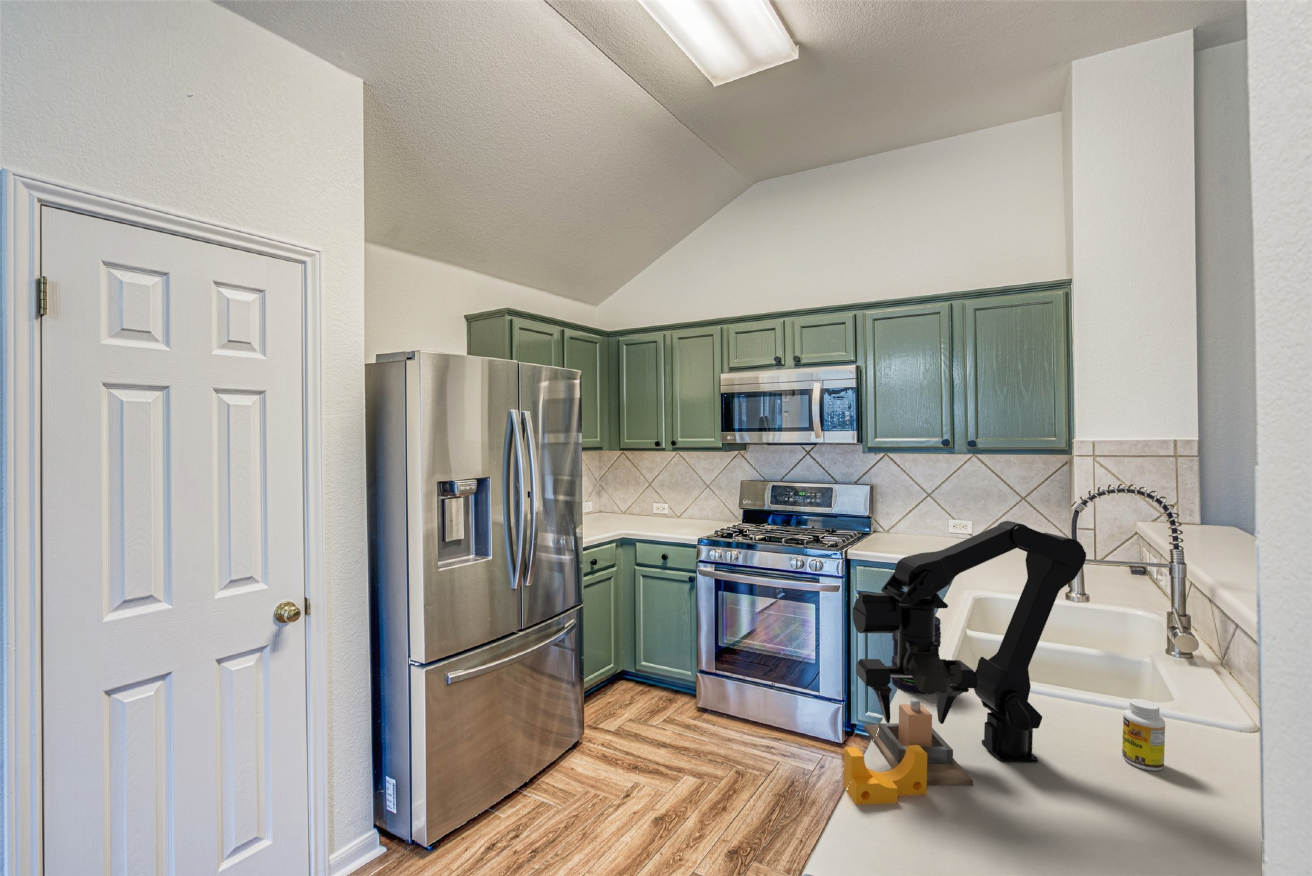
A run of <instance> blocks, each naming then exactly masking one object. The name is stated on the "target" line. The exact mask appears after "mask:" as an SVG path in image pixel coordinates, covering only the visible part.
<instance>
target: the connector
mask: <svg viewBox="0 0 1312 876" xmlns="http://www.w3.org/2000/svg"><path fill="white" fill-rule="evenodd" d="M931 713H932V712H929V710H928V709H927V708H926V707H925V706H924V705H923V704H921V699H918V698H914V697H913V698H910V703H909V704H900V703H899V704H898V724H899V730H898V741H899V743H900V744H901V745H902V746H908V745H919V746H920V747H932V728H933V714H931Z"/></svg>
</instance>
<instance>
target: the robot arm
mask: <svg viewBox="0 0 1312 876" xmlns="http://www.w3.org/2000/svg"><path fill="white" fill-rule="evenodd" d="M1016 549H1019V550H1021V551H1024V552H1026V556H1025V567H1026V573H1027V574H1026V575H1027V579H1026V582H1025V584H1024V586H1023V589H1022V592H1021V594H1020V597H1019V599H1018V601H1017V605H1016V607H1015V609H1014V611H1013V614H1012V616H1011V619H1010V621H1009V624H1008V625H1007V628H1006V631H1005V633H1004V636H1003V638H1002V641H1001V643H1000V645H999V648H998V650H997V652H996V653H995V654H994V655H993V656H991V657H990V658H988V659H987V658H986V657H984V656H980V657H979V659H978V662H977V666H976V669H975V670H973V669H972V668H971V667H969V665H967V664H965V663H964V662H963V661H962V660H961V659H959V660H957V659H946V658H941V657H940V652H939V653H938V644H937V643H935V642H934V626H935V616H936V611H935V610H936V609H948V608H949V605H948V603H946V602H945V600H943V599H942V597H940V595H939V592H941V591H942V590H943V589H945V588H946V587H948V586H950V584H951V583H952V581H953V580H954V578H955V577H957V576H959V575H960V574H962V573H964V572H966V571H968V570H970V569H973V568H976V567H977V566H981V564H983V563H984V564H985V563H986V562H989V561H990V560H993V559H995V558H998V557H999V556H1002V555H1004V554H1006V553H1009V552H1011V551H1013V550H1016ZM1086 559H1087V552H1086V551H1085V549H1084V546H1083V545H1082V544H1081V542H1080V541H1078V540H1077V539H1075V538H1071V537H1065V536H1062V535H1057V534H1054V533H1050V532H1041V531H1039V530H1036V529H1033V528H1031V527H1029V526H1028V525H1025V524H1023V523H1020V522H1016V521H1012V520H1005V521H1001V522H1000V523H998V524H997V525H995V526H994V527H990V528H989V529H987V530H985V531H982V532H980V533H977V534H975V535H973V536H971V537H968V538H966V539H964V540H962V541H960V542H957V543H955V544H953V545H951V546H949V547H945V548H944V549H940V550H937V551H928V552H919V553H916V554H912V555H908V556H904V557H902V558H901V559H899V560H897V562H896V565H895V569H894V572H893V574H892V575H891V576H890V577H889V579H888V580H887V581H886V582H885V584H884V586H882V588H881V589H880V591H881V592H868V591H858V595H857V599H856V600H855V602H854V604H853V607H852V622H853V625H854V627H855V629H856V630H855V631H857V632H858V634H892V633H894V632H895V631H896V630H898V633H896V636H895V638H896V639H897V640H898V656H895V662H896V663H897V664H898V666H891V665H886V664H885V663H884V662H883V661H881V659H880V658H878V659H877V658H860V659H858V661H857V662H856V665H855V666H856V667H855V673H856V675H857V677H859V679H860V680H861V681H862V683H864V685H865V686H867V687H869V688H870V689H872V691H874V693H875V697H876V698H877V701H878V703H879V708H880V709H881V712H882V715H883V718H884V721H885V723H890V722H891V702H890V700H891V699H890V697H891V696H890V695H891V693H892V690H893V688H891V687H890V686H889V684H891V682H892V678H910V679H914V681H915V683H916V685H917V688H918V690H919V691H921V692H923V693H930V692H937V693H936V714H937V721H938V723H939V724H940V725H943V724H944V723H945V721H946V718H947V717H948V715H949V713H950V710H951V708H952V706H953V704H954V702H955V700H956V699H957V697H958V696H960V695H962V694H964V693H968V692H969V691H970V689H973V690H974V693H975V695H976V696H977V697H978V698H979V699H980V702H981V704H982V707H983V708H985V709H987V710H989V711H990V712H989V711H988V712H987V713H986V714H987V715H986V718H987V719H986V721H985V722H984V726H983V727H984V731H983V733H984V734H983V735H984V737H983V738H984V739H981V744H982V745H983V746H985V748H986V749H987V750H989V752H991V754H993V755H994V756H995V757H996V758H997V759H998V760H999V761H1002V762H1021V763H1023V762H1025V763H1026V762H1029V763H1030V762H1031V763H1036V762H1039V757H1038V756H1036V755H1035V754H1034V753H1033V740H1034V739H1033V738H1034V737H1033V735H1034V734H1033V731H1034V729H1039V728H1040V725H1041V723H1042V720H1043V716H1042V714H1040V712H1039V711H1038V710H1036V708H1035V707H1034V706H1033V705H1032V704H1031V703H1030V702H1029V698H1030V697H1029V696H1030V692H1031V687H1032V685H1031V681H1030V680H1031V679H1030V674H1029V673H1030V672H1029V671H1030V670H1029V666H1030V664H1031V661H1032V660H1033V656H1034V654H1035V651H1036V650H1037V647H1038V643H1039V642H1040V639H1041V636H1042V635H1043V631H1044V630H1045V627H1046V625H1047V622H1048V620H1049V617H1050V615H1051V612H1052V610H1053V607H1054V605H1055V602H1056V601H1057V597H1058V595H1059V593H1060V591H1061V590H1062V589H1063V588H1065V587H1066V586H1067V585H1069V584H1070V583H1071V582H1073V581H1074V580H1075V579H1076V578H1077V576H1078V575H1079V573H1080V571H1081V570H1082V568H1083V566H1084V565H1085V563H1086ZM902 588H903V589H905V590H906V591H904V590H902Z"/></svg>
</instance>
